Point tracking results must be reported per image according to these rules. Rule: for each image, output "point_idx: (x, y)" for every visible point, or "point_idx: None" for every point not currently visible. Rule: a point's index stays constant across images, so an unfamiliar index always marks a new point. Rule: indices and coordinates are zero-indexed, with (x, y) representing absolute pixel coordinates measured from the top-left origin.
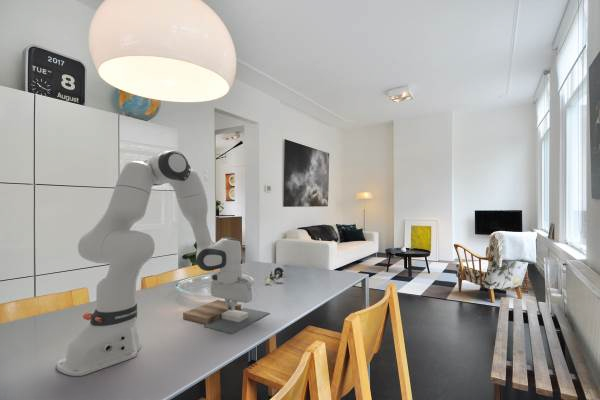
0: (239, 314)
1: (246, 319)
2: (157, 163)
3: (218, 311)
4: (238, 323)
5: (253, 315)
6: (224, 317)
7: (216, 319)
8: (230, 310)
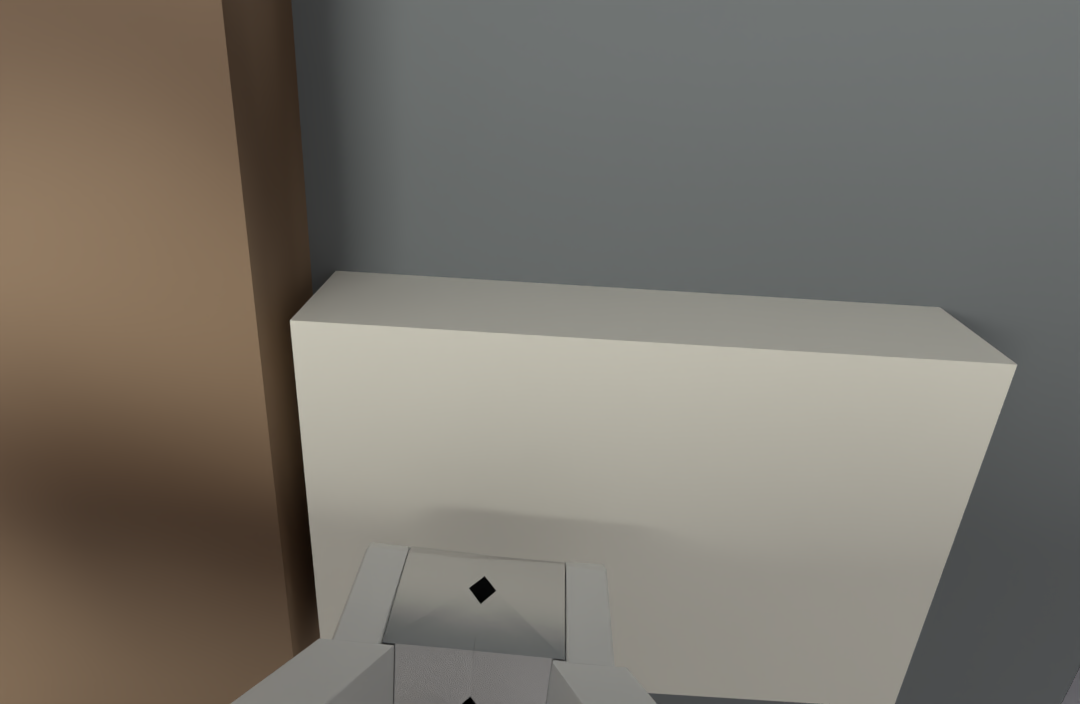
0: (817, 578)
1: None
2: None
3: (145, 622)
4: None
5: (1042, 112)
6: None
7: None
8: (357, 428)
